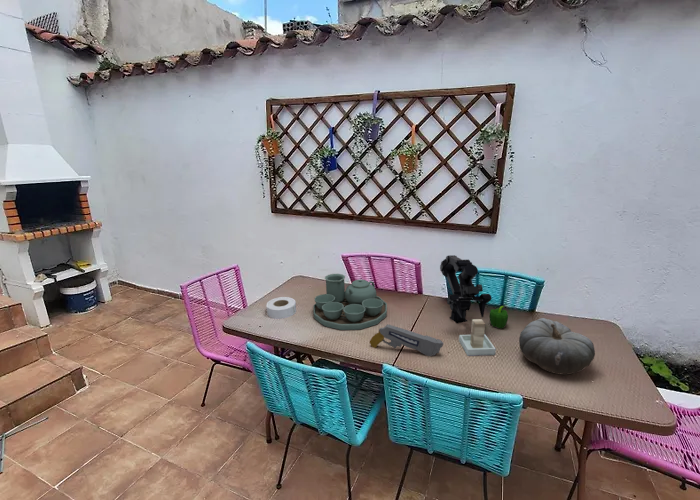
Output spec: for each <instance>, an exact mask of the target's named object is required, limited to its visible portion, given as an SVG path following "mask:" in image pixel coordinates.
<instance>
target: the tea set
mask: <svg viewBox="0 0 700 500" xmlns="http://www.w3.org/2000/svg"><path fill="white" fill-rule="evenodd" d="M324 279H325V289H326V292H325V293H323V294H319V295H316V296H315V297H314V302H315V304H313V306H312V309H313V318H314V320H316V321H317V322H318V323H320V324H321V325H322V326H324V327H327V328H332V329H335V330H339V331H351V330H353V331H356V330H364V329H367V328H370V327H373V326H375V325H376V326H377V325H378V324H380V322H381V321H382V320H384V319H385V318H386V317H387V315H388V314H387V312H388V303H387V302H386V301H384V299H382V298H381V297H380V296H378V295H377V290H376V288H375V283H374V281H372V280H370V281H368V280H366V279H356V280H354V281H352V282H351V283H350V284H349V285H348V286H347V287H346V288H345V279H346V275H344V274H341V273H330V274H327V275H326V276H324Z"/></svg>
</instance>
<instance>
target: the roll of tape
mask: <svg viewBox="0 0 700 500" xmlns="http://www.w3.org/2000/svg"><path fill="white" fill-rule="evenodd" d="M296 312H297V303H296V300H295V299H294V298H292V297H289V296H280V297H279V296H278V297H275V298H272V299H270V300H269V301H267V302H266V314H267V316H268V317H269V318H271V319H276V320H277V319H279V320H282V319H286V318H290V317H292V316H293V315H295V314H296Z"/></svg>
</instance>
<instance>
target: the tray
mask: <svg viewBox="0 0 700 500" xmlns="http://www.w3.org/2000/svg"><path fill="white" fill-rule="evenodd" d="M458 336H459V337H458V342H459V343H460V345H461V347H462V349H463V351H464V352H465V355H467V356H466V357H471V356H472V357H476V356H477V357H478V356H479V357H480V356H483V357H484V356H496V352H497V351H496V350H497V348H496V347H495V346H494V344H493V343H492V342H491V340H490V339H489V337H488V336H487V335H486V333H484V341H483V348H472V346H471V345H470V340H471V334H459V335H458Z"/></svg>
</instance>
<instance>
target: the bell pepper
mask: <svg viewBox="0 0 700 500" xmlns="http://www.w3.org/2000/svg"><path fill="white" fill-rule="evenodd" d="M504 308H505V307H504V305H500V307H499V308H492V309H490V311H489V316H488V317H489V322H490V324H491V326H492V327H494V328H495V327H496V328H497V329H504V328H505V327H506V325H507V323H508V319H509V314H508V311H507V310H506V309H504Z"/></svg>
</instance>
